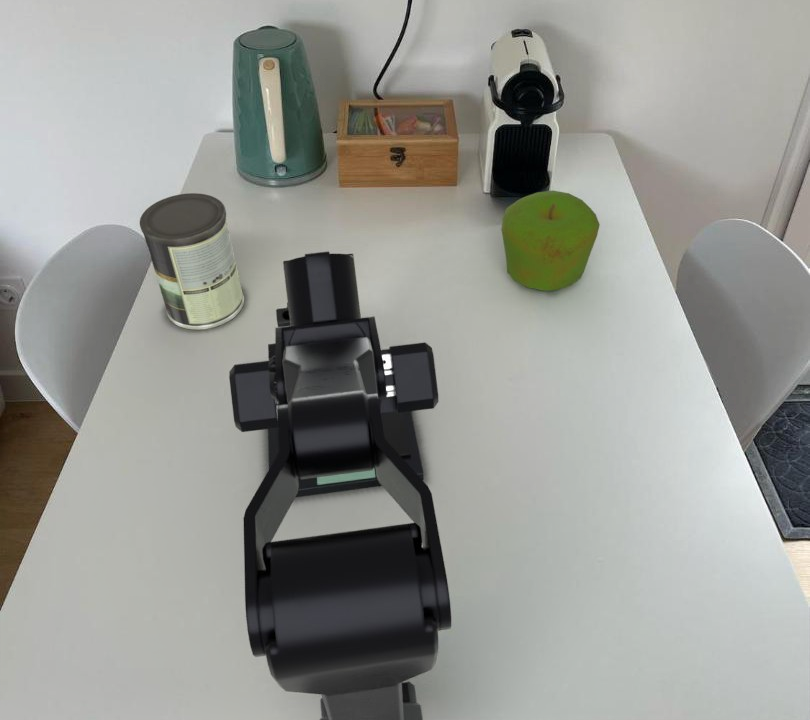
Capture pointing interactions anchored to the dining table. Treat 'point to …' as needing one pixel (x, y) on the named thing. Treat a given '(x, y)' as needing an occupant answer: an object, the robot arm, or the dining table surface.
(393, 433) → the scale
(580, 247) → the apple
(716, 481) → the dining table surface
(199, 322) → the coffee can
